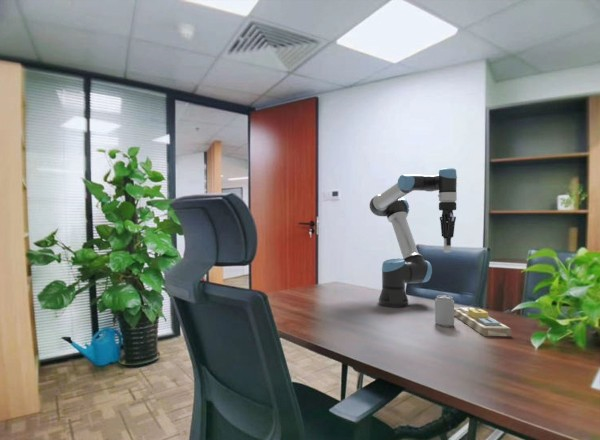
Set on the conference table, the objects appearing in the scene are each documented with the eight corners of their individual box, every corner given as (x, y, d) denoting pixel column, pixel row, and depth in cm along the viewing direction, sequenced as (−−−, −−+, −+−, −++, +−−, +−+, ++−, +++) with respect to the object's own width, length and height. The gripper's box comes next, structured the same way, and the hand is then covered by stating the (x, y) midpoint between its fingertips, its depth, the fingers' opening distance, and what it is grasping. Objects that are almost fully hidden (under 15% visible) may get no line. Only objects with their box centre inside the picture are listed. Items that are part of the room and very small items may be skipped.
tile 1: (459, 313, 155) (459, 307, 155) (472, 314, 155) (472, 307, 155) (465, 317, 149) (465, 310, 149) (478, 317, 149) (478, 310, 149)
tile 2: (468, 315, 146) (468, 308, 146) (481, 316, 146) (481, 308, 146) (474, 319, 141) (474, 312, 141) (488, 319, 140) (488, 312, 140)
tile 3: (478, 325, 137) (478, 317, 137) (492, 325, 137) (492, 318, 137) (485, 330, 132) (485, 322, 132) (499, 330, 132) (499, 322, 132)
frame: (451, 313, 158) (451, 307, 158) (473, 314, 158) (473, 307, 158) (484, 335, 128) (484, 328, 128) (510, 336, 128) (510, 328, 128)
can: (434, 325, 141) (434, 297, 141) (435, 320, 147) (436, 293, 147) (453, 328, 137) (453, 299, 137) (454, 323, 144) (454, 295, 144)
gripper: (434, 202, 163) (434, 251, 163) (444, 201, 150) (444, 253, 150) (449, 202, 163) (449, 251, 163) (461, 201, 150) (461, 253, 150)
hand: (447, 252), depth 157 cm, fingers closed
